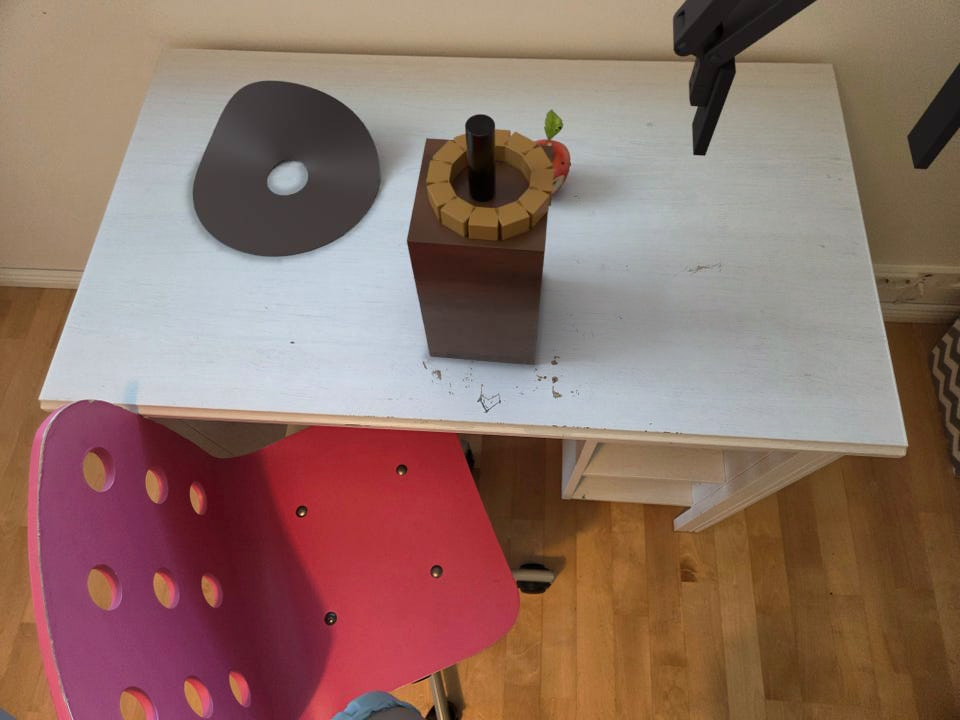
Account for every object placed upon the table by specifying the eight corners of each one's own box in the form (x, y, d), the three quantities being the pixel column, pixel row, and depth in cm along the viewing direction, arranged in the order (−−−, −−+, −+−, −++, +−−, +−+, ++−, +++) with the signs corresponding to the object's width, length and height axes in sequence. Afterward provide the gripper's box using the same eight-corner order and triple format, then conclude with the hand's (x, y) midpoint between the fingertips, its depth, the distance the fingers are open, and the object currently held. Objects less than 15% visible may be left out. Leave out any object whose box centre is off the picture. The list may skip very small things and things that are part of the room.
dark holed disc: (162, 238, 88) (125, 188, 80) (221, 124, 97) (194, 68, 88) (348, 270, 85) (331, 222, 77) (392, 150, 94) (381, 94, 85)
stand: (533, 365, 79) (544, 251, 59) (429, 356, 80) (406, 241, 60) (541, 277, 84) (553, 145, 64) (443, 269, 85) (426, 137, 65)
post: (494, 203, 62) (493, 136, 54) (467, 201, 62) (463, 135, 55) (497, 182, 63) (496, 114, 55) (470, 180, 63) (466, 112, 56)
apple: (571, 207, 89) (579, 151, 80) (519, 213, 88) (521, 157, 80) (561, 162, 92) (567, 103, 83) (510, 167, 92) (511, 109, 83)
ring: (547, 245, 59) (548, 231, 58) (420, 235, 60) (418, 220, 58) (555, 148, 64) (557, 132, 62) (439, 140, 65) (437, 124, 63)
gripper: (1357, -317, 26) (997, 114, 45) (686, -325, 28) (611, 93, 47) (1461, -213, 23) (1025, 205, 42) (692, -230, 25) (608, 178, 44)
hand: (806, 146), depth 44 cm, fingers open, 13 cm apart
